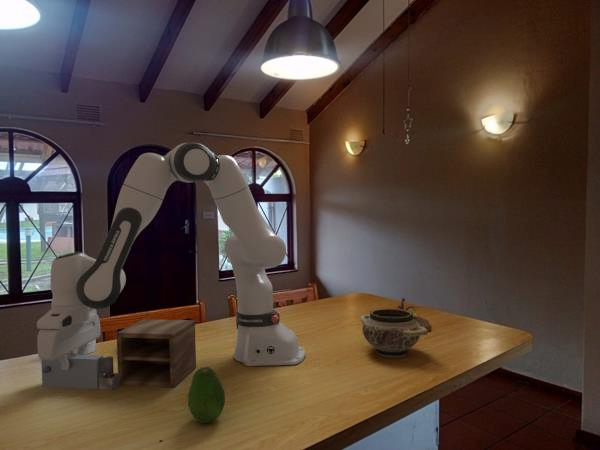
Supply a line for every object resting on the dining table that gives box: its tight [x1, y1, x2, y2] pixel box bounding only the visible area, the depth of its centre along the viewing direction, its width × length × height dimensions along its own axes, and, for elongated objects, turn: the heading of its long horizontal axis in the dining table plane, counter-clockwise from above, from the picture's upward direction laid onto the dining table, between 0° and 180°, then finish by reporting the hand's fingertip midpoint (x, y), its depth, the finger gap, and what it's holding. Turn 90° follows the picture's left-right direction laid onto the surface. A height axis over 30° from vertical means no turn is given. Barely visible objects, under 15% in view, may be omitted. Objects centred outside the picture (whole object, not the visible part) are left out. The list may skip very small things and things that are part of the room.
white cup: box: [72, 339, 97, 355], centre depth 143 cm, size 8×8×10 cm
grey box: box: [40, 353, 115, 390], centre depth 114 cm, size 20×4×8 cm, turn 81°
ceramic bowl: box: [359, 307, 428, 358], centre depth 136 cm, size 24×18×15 cm
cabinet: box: [98, 318, 197, 391], centre depth 119 cm, size 19×17×14 cm
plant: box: [395, 297, 431, 332], centre depth 165 cm, size 20×20×11 cm
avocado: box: [187, 366, 226, 424], centre depth 94 cm, size 8×8×12 cm
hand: (73, 365), depth 115 cm, fingers open, 4 cm apart
